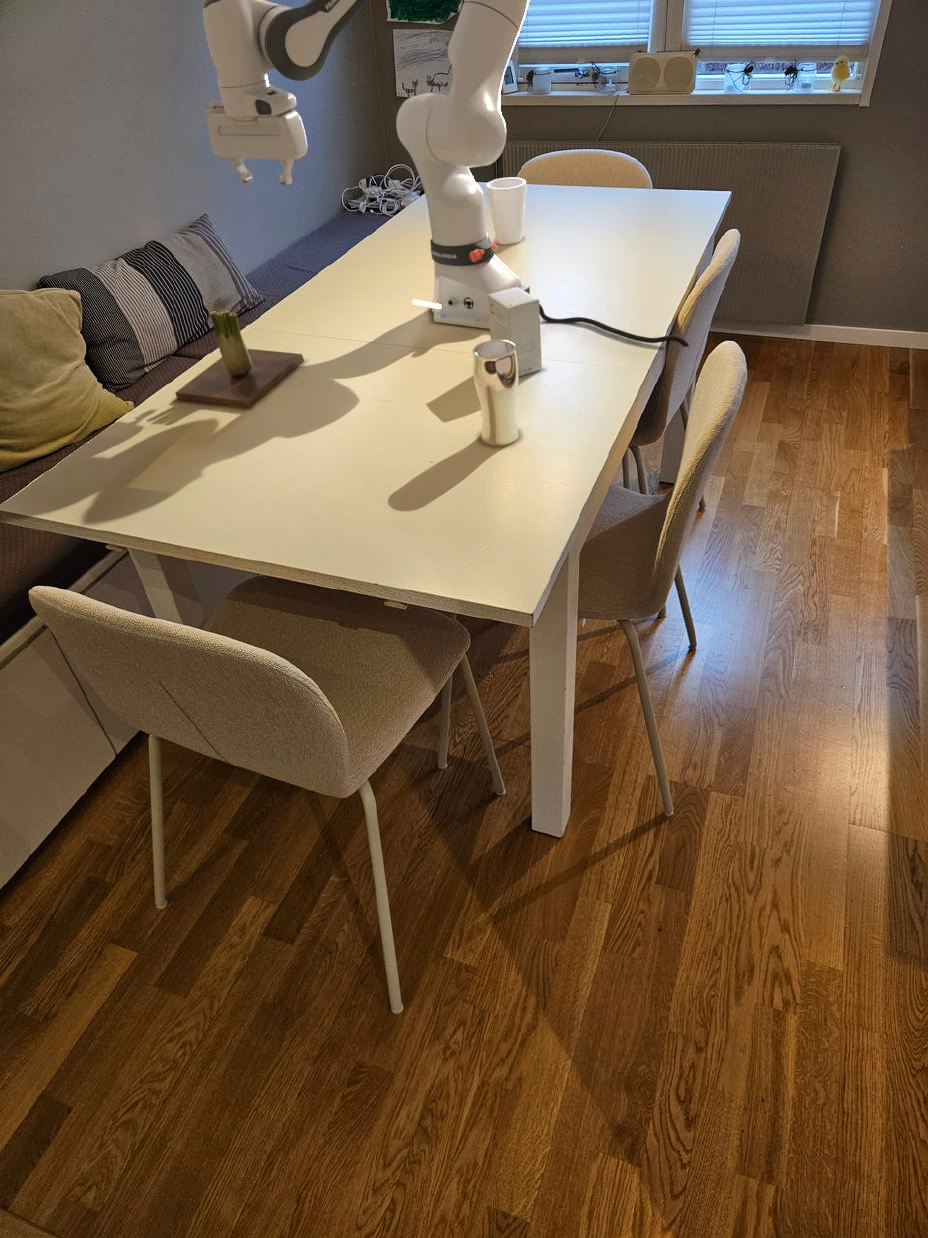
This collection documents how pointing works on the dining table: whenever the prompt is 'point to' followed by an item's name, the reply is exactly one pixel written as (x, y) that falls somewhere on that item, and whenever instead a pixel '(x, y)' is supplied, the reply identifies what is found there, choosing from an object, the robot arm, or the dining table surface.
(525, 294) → the small box
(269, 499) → the dining table surface
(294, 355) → the cutting board
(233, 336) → the fennel bulb
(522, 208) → the foam cup
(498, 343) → the beer glass
